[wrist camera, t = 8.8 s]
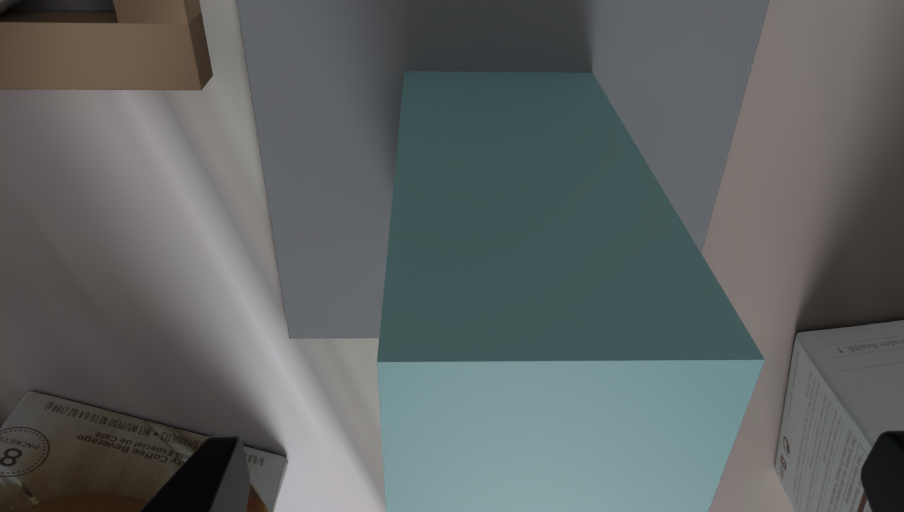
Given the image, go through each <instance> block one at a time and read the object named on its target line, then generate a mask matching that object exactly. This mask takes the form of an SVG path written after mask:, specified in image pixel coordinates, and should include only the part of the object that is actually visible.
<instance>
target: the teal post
mask: <svg viewBox="0 0 904 512" xmlns="http://www.w3.org/2000/svg"><path fill="white" fill-rule="evenodd" d="M764 361H765V359H764V358H763V356H762V354H761V353H760V351H759V349H758V348H757V346H756V344H755V343H754V341H753V339H752V338H751V336H750V334H749V333H748V331H747V329H746V328H745V326H744V324H743V323H742V321H741V319H740V318H739V316H738V314H737V313H736V311H735V309H734V308H733V306H732V304H731V303H730V301H729V299H728V298H727V296H726V294H725V293H724V291H723V289H722V288H721V286H720V284H719V283H718V281H717V279H716V278H715V276H714V274H713V273H712V271H711V269H710V268H709V266H708V264H707V263H706V261H705V259H704V258H703V256H702V254H701V253H700V251H699V249H698V248H697V246H696V244H695V243H694V241H693V239H692V238H691V236H690V234H689V233H688V231H687V229H686V228H685V226H684V224H683V223H682V221H681V219H680V218H679V216H678V214H677V213H676V211H675V209H674V208H673V206H672V204H671V203H670V201H669V199H668V198H667V196H666V194H665V193H664V191H663V189H662V188H661V186H660V184H659V183H658V181H657V179H656V178H655V176H654V174H653V173H652V171H651V169H650V168H649V166H648V164H647V163H646V161H645V159H644V158H643V156H642V154H641V153H640V151H639V149H638V148H637V146H636V144H635V143H634V141H633V139H632V138H631V136H630V134H629V133H628V131H627V129H626V128H625V126H624V124H623V123H622V121H621V119H620V118H619V116H618V114H617V113H616V111H615V109H614V108H613V106H612V104H611V103H610V101H609V99H608V98H607V96H606V94H605V93H604V91H603V89H602V88H601V86H600V84H599V83H598V81H597V79H596V78H595V76H594V74H593V73H566V72H444V71H404V79H403V90H402V101H401V111H400V122H399V133H398V143H397V154H396V165H395V176H394V186H393V197H392V208H391V219H390V229H389V240H388V251H387V262H386V272H385V283H384V294H383V304H382V315H381V326H380V337H379V347H378V358H377V368H378V385H379V402H380V418H381V435H382V452H383V468H384V485H385V501H386V512H708V510H709V508H710V505H711V502H712V500H713V497H714V494H715V492H716V489H717V486H718V484H719V481H720V478H721V476H722V473H723V470H724V468H725V465H726V462H727V460H728V457H729V454H730V452H731V449H732V446H733V444H734V441H735V438H736V436H737V433H738V430H739V428H740V425H741V422H742V420H743V417H744V414H745V412H746V409H747V406H748V404H749V401H750V398H751V396H752V393H753V390H754V388H755V385H756V382H757V380H758V377H759V374H760V372H761V369H762V366H763V363H764Z"/></svg>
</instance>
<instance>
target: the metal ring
mask: <svg viewBox="0 0 904 512" xmlns="http://www.w3.org/2000/svg"><path fill="white" fill-rule="evenodd" d="M22 1H24V0H0V15H2V14H4V13H6V12H8V11H10V10H11V9H12V8H14V7H15V6H17V5H18V4H19V3H21V2H22Z"/></svg>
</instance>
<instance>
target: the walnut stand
mask: <svg viewBox="0 0 904 512" xmlns="http://www.w3.org/2000/svg"><path fill="white" fill-rule="evenodd" d="M113 4H114V8H115V11H32V10H10V11H8V12H6V13H4V14H2V15H0V89H81V90H202V89H203V87H204V86H205V85H206V84H207V82H208V81H209V80H210V79H211V77H212V76H213V74H212V69H211V64H210V58H209V53H208V47H207V42H206V37H205V31H204V26H203V21H202V15H201V10H200V4H199V0H113Z"/></svg>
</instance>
